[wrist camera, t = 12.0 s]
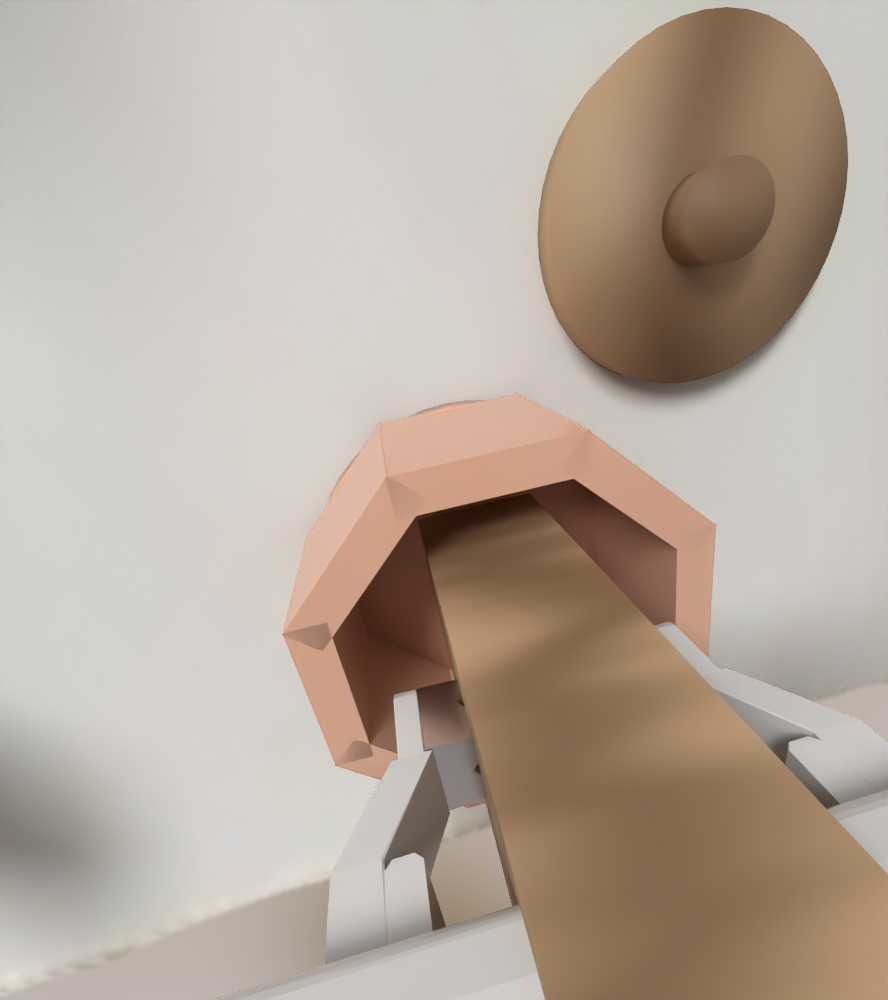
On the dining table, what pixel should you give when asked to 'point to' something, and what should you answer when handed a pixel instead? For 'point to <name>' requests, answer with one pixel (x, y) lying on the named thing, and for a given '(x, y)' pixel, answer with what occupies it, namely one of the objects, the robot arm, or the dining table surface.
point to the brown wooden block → (638, 790)
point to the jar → (404, 570)
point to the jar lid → (693, 196)
